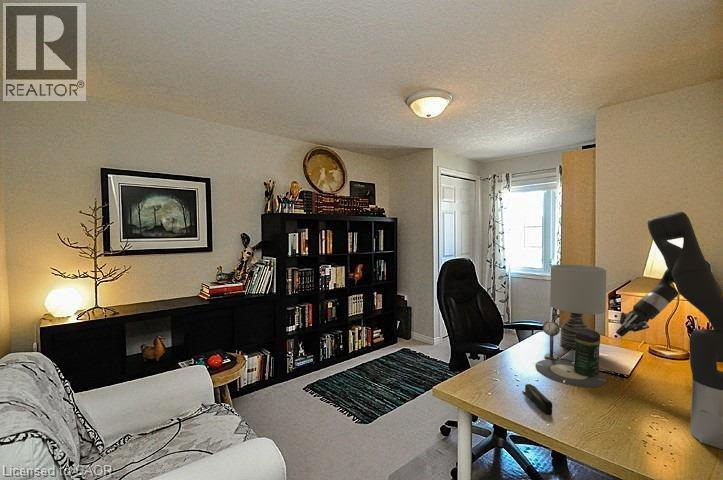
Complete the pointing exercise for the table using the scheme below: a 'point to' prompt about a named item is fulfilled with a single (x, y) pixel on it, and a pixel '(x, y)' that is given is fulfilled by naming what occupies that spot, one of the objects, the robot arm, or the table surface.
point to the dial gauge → (551, 337)
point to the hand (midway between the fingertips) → (618, 334)
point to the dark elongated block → (538, 399)
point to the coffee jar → (587, 353)
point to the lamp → (577, 297)
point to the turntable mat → (567, 373)
